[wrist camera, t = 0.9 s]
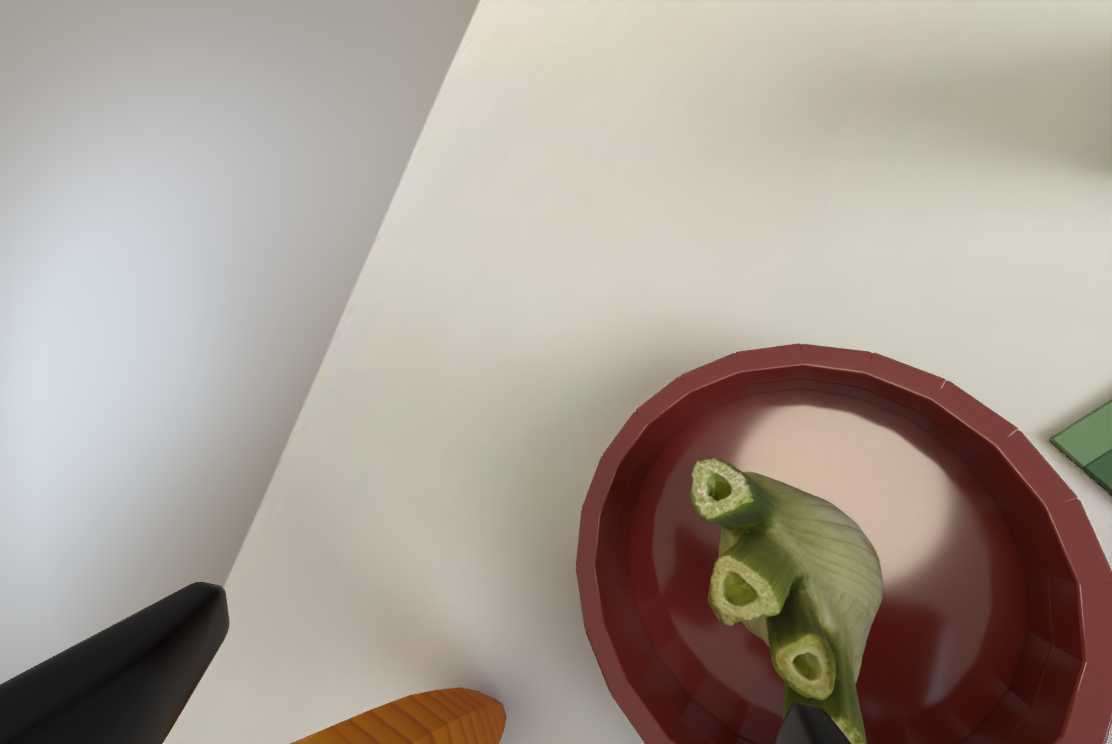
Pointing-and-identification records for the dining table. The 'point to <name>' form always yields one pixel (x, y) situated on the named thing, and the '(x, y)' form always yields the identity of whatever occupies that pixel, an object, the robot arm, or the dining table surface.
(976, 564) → the bowl
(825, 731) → the robot arm
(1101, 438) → the tea towel
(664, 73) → the dining table surface
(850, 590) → the fennel bulb
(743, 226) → the dining table surface
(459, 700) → the carrot
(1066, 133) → the dining table surface
